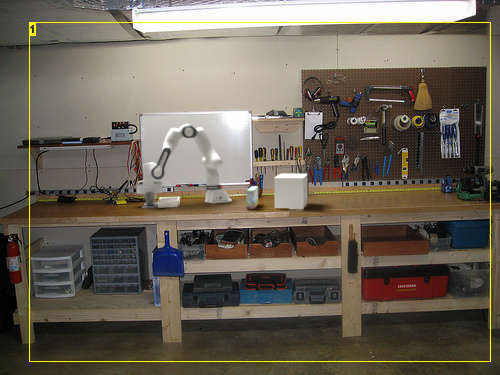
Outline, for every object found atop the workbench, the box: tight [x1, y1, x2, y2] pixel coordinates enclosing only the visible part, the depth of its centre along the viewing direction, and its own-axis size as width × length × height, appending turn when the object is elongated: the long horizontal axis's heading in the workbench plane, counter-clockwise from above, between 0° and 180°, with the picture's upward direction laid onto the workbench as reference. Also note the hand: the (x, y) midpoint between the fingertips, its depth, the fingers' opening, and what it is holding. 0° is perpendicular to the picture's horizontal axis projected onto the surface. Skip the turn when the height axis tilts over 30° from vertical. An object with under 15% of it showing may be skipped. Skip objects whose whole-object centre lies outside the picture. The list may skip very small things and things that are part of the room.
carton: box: [157, 196, 181, 209], centre depth 304 cm, size 16×18×5 cm
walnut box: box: [145, 192, 156, 205], centre depth 301 cm, size 5×12×9 cm, turn 6°
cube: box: [273, 173, 308, 210], centre depth 286 cm, size 25×21×24 cm
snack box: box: [246, 185, 259, 210], centre depth 288 cm, size 21×6×15 cm, turn 168°
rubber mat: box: [141, 202, 158, 209], centre depth 302 cm, size 11×16×1 cm
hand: (150, 198), depth 302 cm, fingers closed on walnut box, 5 cm apart
